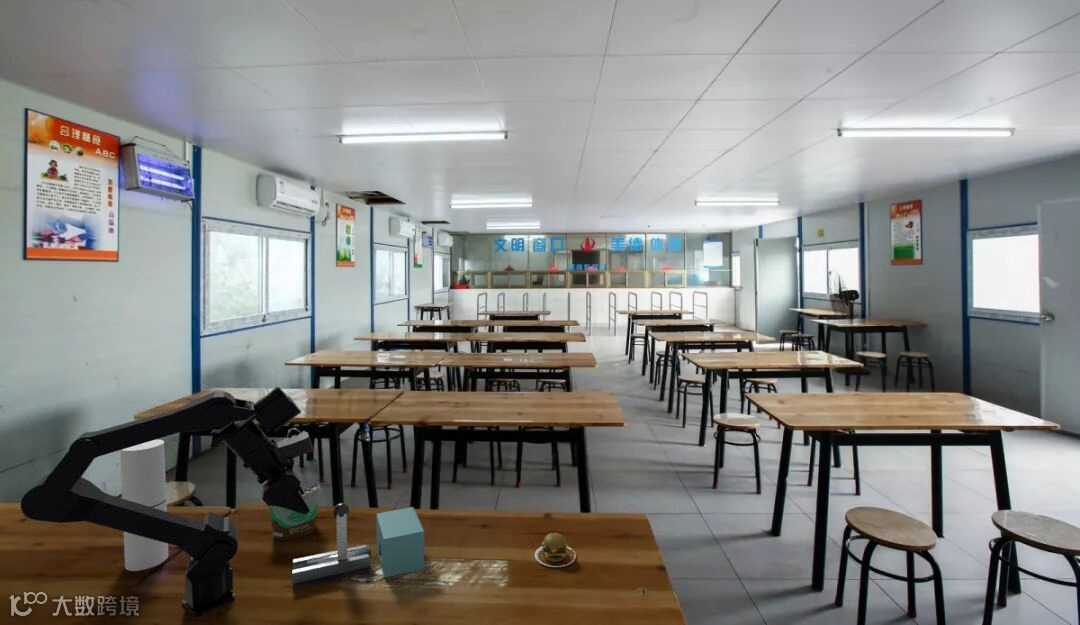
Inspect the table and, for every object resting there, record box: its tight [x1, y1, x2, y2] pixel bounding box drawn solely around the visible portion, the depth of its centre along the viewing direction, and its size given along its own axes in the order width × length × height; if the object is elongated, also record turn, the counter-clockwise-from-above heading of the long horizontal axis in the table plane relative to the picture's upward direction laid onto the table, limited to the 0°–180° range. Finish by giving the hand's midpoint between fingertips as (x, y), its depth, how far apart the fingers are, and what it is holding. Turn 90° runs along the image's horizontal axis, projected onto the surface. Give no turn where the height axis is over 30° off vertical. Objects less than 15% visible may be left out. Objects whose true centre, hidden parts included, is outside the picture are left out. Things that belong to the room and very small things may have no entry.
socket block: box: [376, 506, 425, 579], centre depth 105 cm, size 8×12×8 cm, turn 25°
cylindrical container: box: [119, 439, 169, 572], centre depth 103 cm, size 7×7×25 cm
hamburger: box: [534, 532, 577, 568], centre depth 107 cm, size 12×12×6 cm
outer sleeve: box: [292, 544, 370, 590], centre depth 100 cm, size 14×5×3 cm, turn 115°
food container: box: [265, 481, 322, 541], centre depth 115 cm, size 12×6×10 cm, turn 143°
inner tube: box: [307, 502, 372, 567], centre depth 100 cm, size 12×3×13 cm, turn 115°
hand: (304, 503), depth 99 cm, fingers open, 9 cm apart
